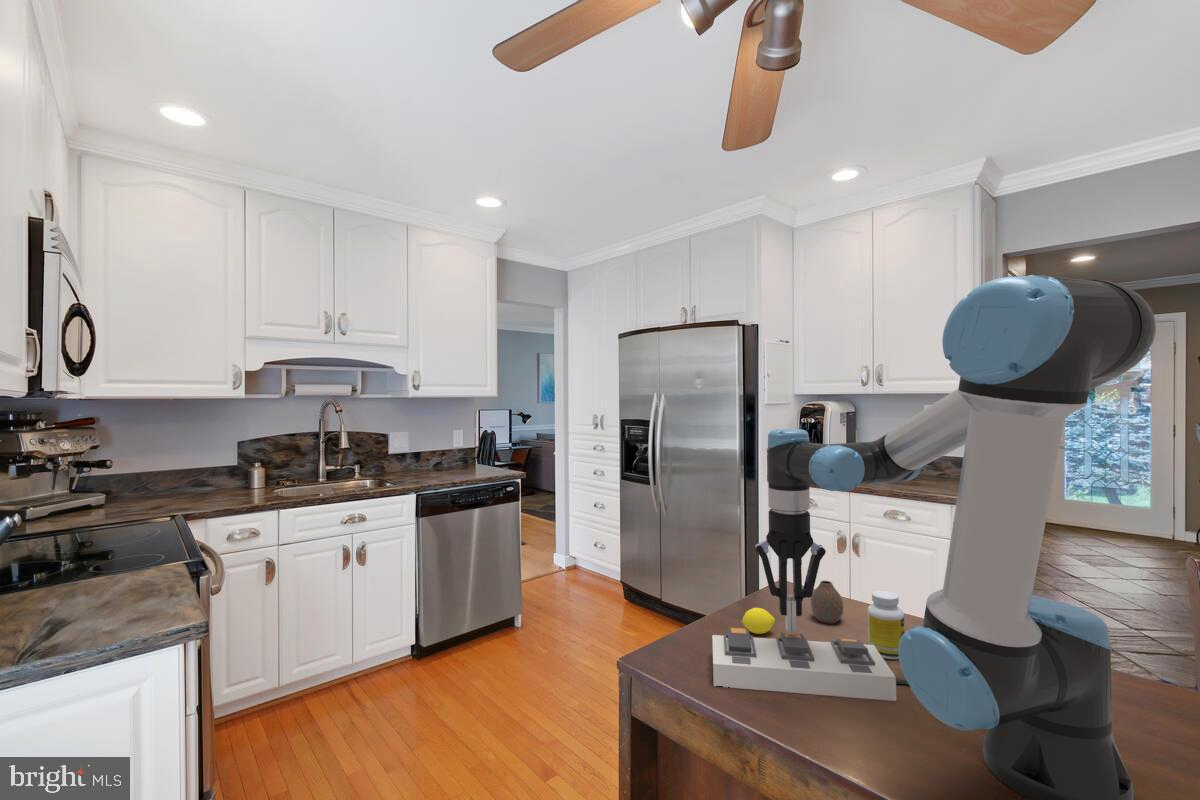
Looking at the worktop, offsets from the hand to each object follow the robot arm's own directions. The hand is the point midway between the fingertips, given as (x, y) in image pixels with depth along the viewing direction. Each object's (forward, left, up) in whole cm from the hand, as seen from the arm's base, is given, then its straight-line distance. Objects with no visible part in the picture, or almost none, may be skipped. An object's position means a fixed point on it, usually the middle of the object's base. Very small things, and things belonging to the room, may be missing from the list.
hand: (790, 631), depth 102 cm
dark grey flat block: (-3, 0, -1) cm, 3 cm away
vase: (+23, -11, -7) cm, 26 cm away
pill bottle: (+8, -19, -7) cm, 22 cm away
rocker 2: (-3, -10, -1) cm, 11 cm away
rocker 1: (-3, +10, -1) cm, 10 cm away
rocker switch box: (-4, -5, -6) cm, 9 cm away
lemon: (+14, +5, -7) cm, 16 cm away
